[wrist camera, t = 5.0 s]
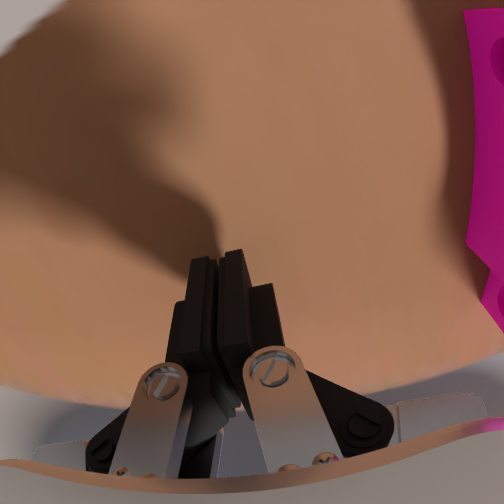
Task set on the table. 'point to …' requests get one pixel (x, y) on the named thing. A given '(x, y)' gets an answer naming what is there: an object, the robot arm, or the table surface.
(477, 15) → the magenta curved block
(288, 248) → the table surface
